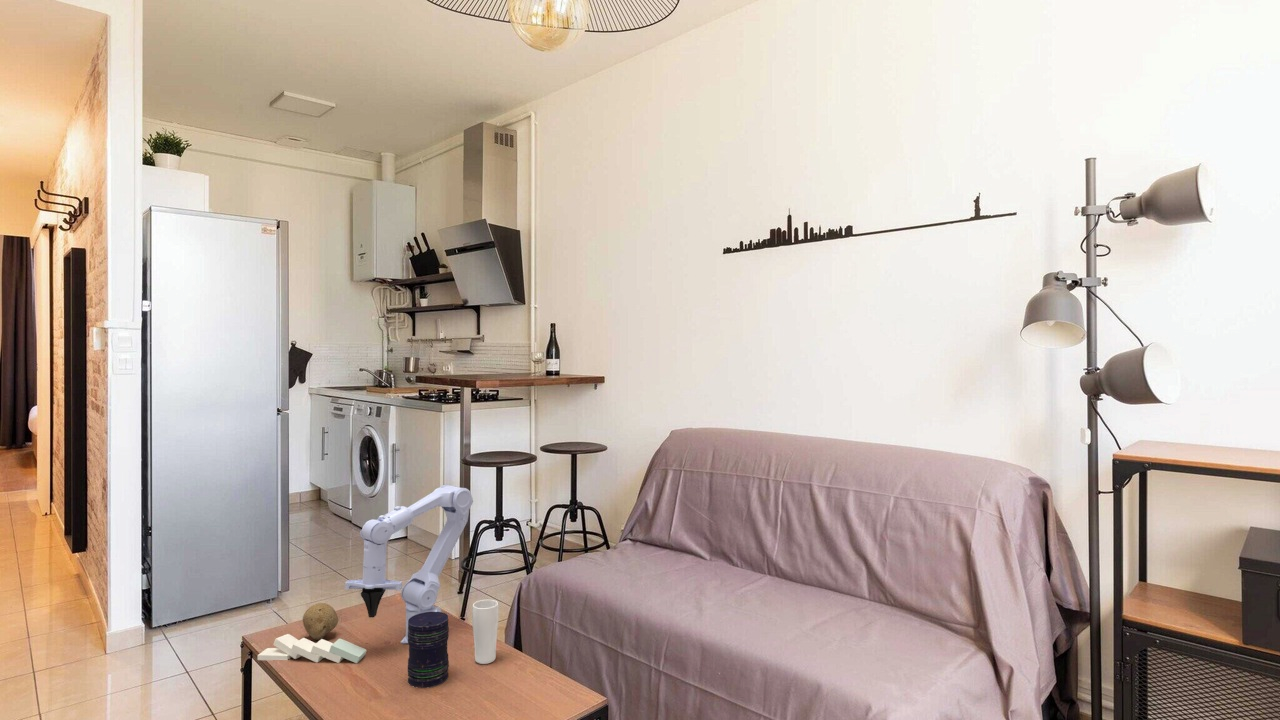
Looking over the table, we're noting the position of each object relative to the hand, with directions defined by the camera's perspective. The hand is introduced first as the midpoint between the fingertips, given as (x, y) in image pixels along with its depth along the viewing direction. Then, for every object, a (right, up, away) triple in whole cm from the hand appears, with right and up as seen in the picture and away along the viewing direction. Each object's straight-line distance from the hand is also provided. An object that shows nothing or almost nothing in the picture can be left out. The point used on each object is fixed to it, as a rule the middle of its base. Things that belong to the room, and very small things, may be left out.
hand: (372, 616), depth 181 cm
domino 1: (-21, -10, -1) cm, 23 cm away
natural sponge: (-19, -11, +11) cm, 24 cm away
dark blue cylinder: (+19, -11, -13) cm, 26 cm away
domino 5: (-2, -10, -3) cm, 10 cm away
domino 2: (-18, -9, -2) cm, 20 cm away
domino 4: (-6, -10, -3) cm, 12 cm away
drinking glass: (+31, -11, -3) cm, 33 cm away
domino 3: (-12, -10, -3) cm, 16 cm away
